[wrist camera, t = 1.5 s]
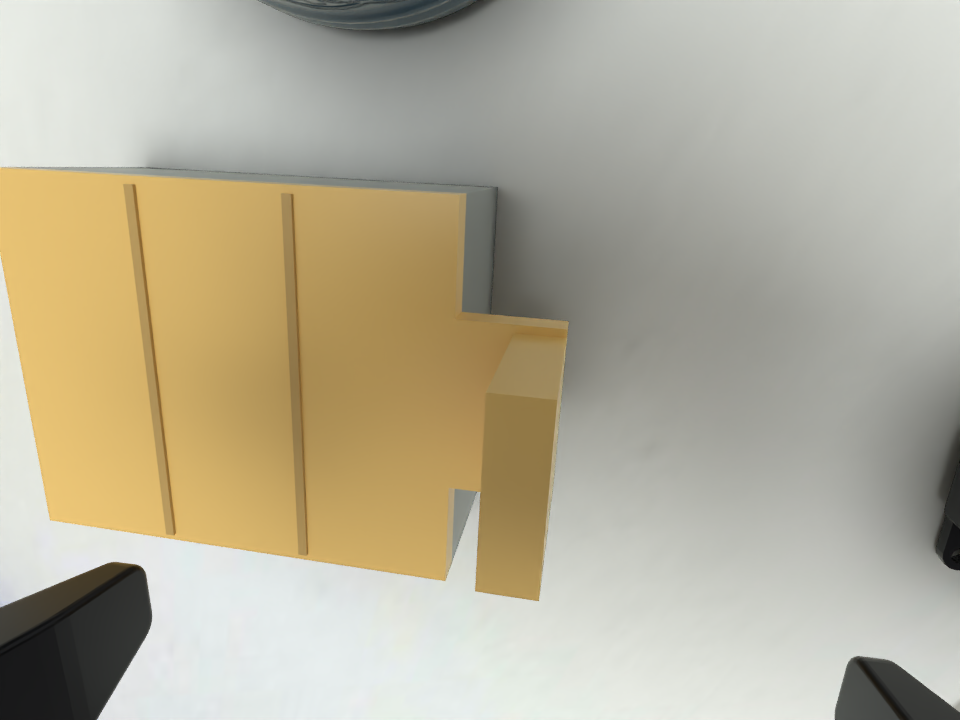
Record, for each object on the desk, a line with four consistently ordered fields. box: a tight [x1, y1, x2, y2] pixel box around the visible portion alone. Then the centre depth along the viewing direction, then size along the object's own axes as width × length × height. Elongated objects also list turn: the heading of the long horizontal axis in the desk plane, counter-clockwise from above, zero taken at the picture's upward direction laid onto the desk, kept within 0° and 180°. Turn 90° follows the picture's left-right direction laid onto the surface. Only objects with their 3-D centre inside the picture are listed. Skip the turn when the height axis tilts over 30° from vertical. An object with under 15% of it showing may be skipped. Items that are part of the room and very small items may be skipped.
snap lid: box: [0, 167, 569, 601], centre depth 15 cm, size 15×10×6 cm
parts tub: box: [20, 167, 498, 561], centre depth 19 cm, size 12×10×5 cm
